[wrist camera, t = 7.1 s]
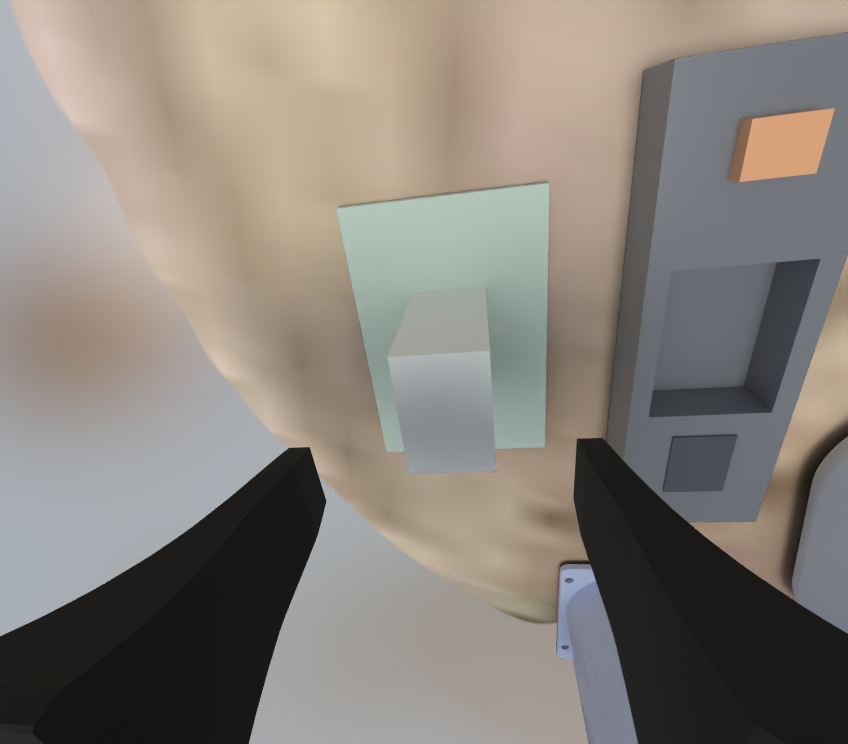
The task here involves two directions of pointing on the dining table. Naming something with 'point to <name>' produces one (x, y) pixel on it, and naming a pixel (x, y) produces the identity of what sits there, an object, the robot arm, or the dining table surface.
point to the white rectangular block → (445, 382)
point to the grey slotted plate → (728, 266)
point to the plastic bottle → (825, 542)
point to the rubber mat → (459, 268)
